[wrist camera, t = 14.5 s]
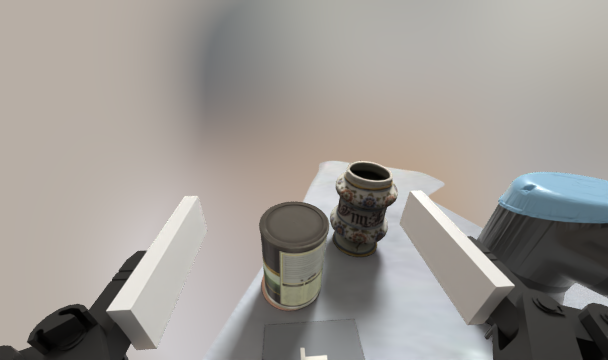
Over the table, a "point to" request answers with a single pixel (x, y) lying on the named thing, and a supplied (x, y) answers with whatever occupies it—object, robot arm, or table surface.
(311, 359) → the gray tile
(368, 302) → the table surface
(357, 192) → the apothecary jar
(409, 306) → the table surface
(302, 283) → the coffee can
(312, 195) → the table surface
